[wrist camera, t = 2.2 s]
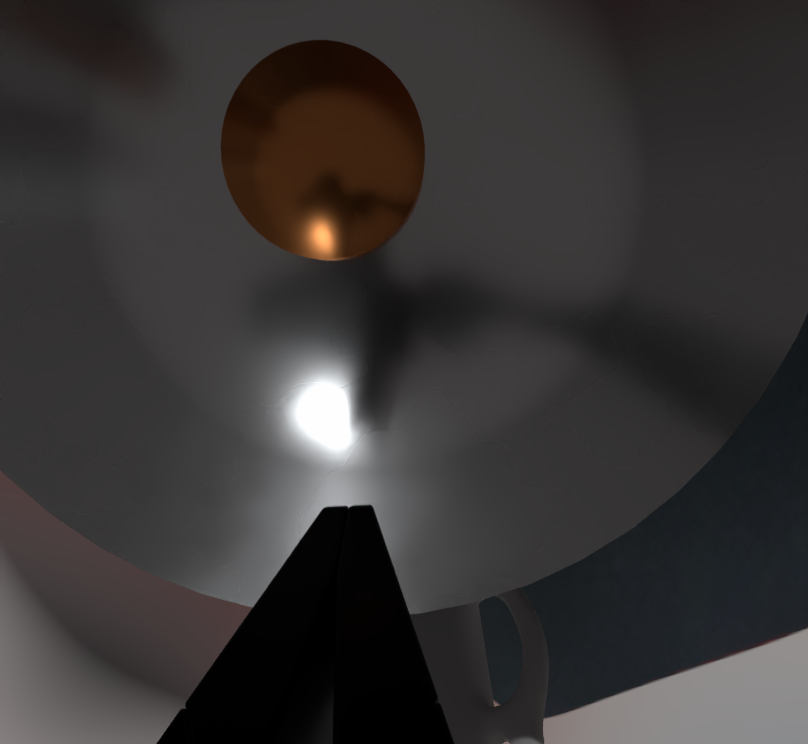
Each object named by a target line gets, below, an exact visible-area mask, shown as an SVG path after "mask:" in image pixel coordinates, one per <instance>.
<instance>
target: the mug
mask: <svg viewBox="0 0 808 744" xmlns="http://www.w3.org/2000/svg"><path fill="white" fill-rule="evenodd" d="M496 596H497V597H499V598H501V599H502V600H503V601H504V602H505V603H506V605H507V606H508V608H509V609H510V611H511V613H512V615H513V617H514V619H515V622H516V624H517V627H518V630H519V633H520V637H521V641H522V648H523V663H522V670H521V676H520V679H519V682H518V685H517V687H516V689H515V692H514V693H513V695H512V696H511V697H510V699H509V700H508V701H507V702H505V703H504V704H502V705H500V706H496V707H494V703H493V696H492V690H491V684H490V677H489V671H488V665H487V658H486V652H485V645H484V639H483V633H482V626H481V619H480V613H479V606H478V604H479V603H480V602H481V601H482V600H481V601H478V602H474V603H469V604H464V605H459V606H454V607H449V608H445V609H440V610H435V611H430V612H425V613H419V614H410V616H411V619H412V622H413V625H414V628H415V631H416V634H417V637H418V640H419V643H420V646H421V648H422V651H423V654H424V657H425V660H426V663H427V666H428V669H429V672H430V675H431V678H432V681H433V684H434V687H435V689H436V692H437V695H438V703H440V704H441V706H442V709H443V712H444V715H445V718H446V721H447V724H448V727H449V730H450V733H451V736H452V738H453V741H454V744H502V743H504V742H506V741H509V743H510V744H544V737H543V719H544V711H545V704H546V697H547V688H548V670H549V664H548V651H547V644H546V640H545V635H544V632H543V629H542V626H541V623H540V621H539V618H538V616H537V614H536V612H535V610H534V608H533V606H532V604H531V603H530V601H529V600H528V598H527V597H526V596H525V594H524V593H523V591H522V590H521V588H517V589H514V590H511V591H508V592H505V593H502V594H499V595H496Z"/></svg>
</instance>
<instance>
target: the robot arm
mask: <svg viewBox="0 0 808 744" xmlns="http://www.w3.org/2000/svg"><path fill="white" fill-rule="evenodd" d="M185 707H186V709H184V708H183V709H181V710H180V711H179V713H178V714H177V715H176V717H175V718H174V720H173V721H172V722H171V724H170V725H169V727H168V728H167V730H166V731H165V732H164V734H163V735H162V737H161V738H160V740H159V741H158V742H157V744H454V741H453V738H452V736H451V733H450V730H449V727H448V724H447V721H446V718H445V715H444V712H443V709H442V706H441V704H440V703H438V695H437V692H436V689H435V687H434V684H433V681H432V678H431V675H430V672H429V669H428V666H427V663H426V660H425V657H424V654H423V651H422V648H421V646H420V643H419V640H418V637H417V634H416V631H415V628H414V625H413V622H412V619H411V616H410V613H409V610H408V607H407V604H406V602H405V599H404V596H403V593H402V590H401V587H400V584H399V581H398V578H397V575H396V572H395V569H394V566H393V563H392V561H391V558H390V555H389V552H388V549H387V546H386V543H385V540H384V537H383V534H382V531H381V528H380V525H379V522H378V520H377V517H376V514H375V511H374V508H373V506H372V505H370V504H359V505H351V506H349V508H348V506H346V505H333V506H326V507H324V508H323V509H322V510H321V511H320V513H319V514H318V516H317V517H316V519H315V520H314V521H313V523H312V524H311V526H310V527H309V529H308V530H307V531H306V533H305V534H304V536H303V537H302V538H301V540H300V541H299V543H298V544H297V546H296V547H295V548H294V550H293V551H292V553H291V554H290V555H289V557H288V558H287V560H286V561H285V563H284V564H283V565H282V567H281V568H280V570H279V571H278V572H277V574H276V575H275V577H274V578H273V580H272V581H271V582H270V584H269V585H268V587H267V588H266V590H265V591H264V592H263V594H262V595H261V597H260V598H259V599H258V601H257V602H256V604H255V605H254V607H253V608H252V609H251V611H250V612H249V614H248V615H247V617H246V618H245V619H244V621H243V622H242V624H241V625H240V626H239V628H238V629H237V631H236V632H235V634H234V635H233V636H232V638H231V639H230V641H229V642H228V644H227V645H226V646H225V648H224V649H223V651H222V652H221V653H220V655H219V656H218V658H217V659H216V660H215V662H214V663H213V665H212V666H211V668H210V669H209V671H208V672H207V673H206V675H205V676H204V677H203V679H202V680H201V682H200V683H199V685H198V686H197V687H196V689H195V690H194V692H193V693H192V694H191V696H190V697H189V699H188V700H187V702H186V704H185Z"/></svg>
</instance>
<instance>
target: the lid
mask: <svg viewBox="0 0 808 744" xmlns="http://www.w3.org/2000/svg"><path fill="white" fill-rule="evenodd" d="M807 313H808V0H0V470H1V471H2V472H3V473H4V474H5V475H6V476H7V477H8V478H10V479H11V480H12V481H13V482H14V483H15V484H17V485H18V486H19V487H20V488H21V489H22V490H24V491H25V492H26V493H27V494H28V495H29V496H31V497H32V498H33V499H34V500H35V501H36V502H38V503H39V504H40V505H41V506H42V507H43V508H45V509H46V510H47V511H48V512H49V513H50V514H52V515H53V516H55V517H56V518H58V519H59V520H61V521H62V522H64V523H65V524H66V525H68V526H70V527H71V528H73V529H74V530H75V531H77V532H78V533H80V534H81V535H83V536H84V537H86V538H87V539H89V540H90V541H91V542H93V543H94V544H96V545H97V546H99V547H101V548H103V549H104V550H106V551H108V552H110V553H112V554H114V555H116V556H118V557H120V558H122V559H123V560H125V561H127V562H129V563H131V564H133V565H135V566H137V567H139V568H140V569H142V570H144V571H146V572H148V573H150V574H153V575H155V576H158V577H160V578H163V579H165V580H168V581H170V582H173V583H175V584H178V585H181V586H183V587H186V588H188V589H191V590H193V591H196V592H199V593H201V594H204V595H208V596H212V597H216V598H219V599H223V600H227V601H231V602H234V603H238V604H242V605H246V606H249V607H254V605H255V604H256V602H257V601H258V599H259V598H260V597H261V595H262V594H263V592H264V591H265V590H266V588H267V587H268V585H269V584H270V582H271V581H272V580H273V578H274V577H275V575H276V574H277V572H278V571H279V570H280V568H281V567H282V565H283V564H284V563H285V561H286V560H287V558H288V557H289V555H290V554H291V553H292V551H293V550H294V548H295V547H296V546H297V544H298V543H299V541H300V540H301V538H302V537H303V536H304V534H305V533H306V531H307V530H308V529H309V527H310V526H311V524H312V523H313V521H314V520H315V519H316V517H317V516H318V514H319V513H320V511H321V510H322V509H323V508H324V507H326V506H333V505H346V506H348V508H349V506H351V505H359V504H370V505H372V506H373V508H374V511H375V514H376V517H377V520H378V522H379V525H380V528H381V531H382V534H383V537H384V540H385V543H386V546H387V549H388V552H389V555H390V558H391V561H392V563H393V566H394V569H395V572H396V575H397V578H398V581H399V584H400V587H401V590H402V593H403V596H404V599H405V602H406V604H407V607H408V610H409V613H410V614H419V613H425V612H430V611H435V610H440V609H445V608H449V607H454V606H459V605H464V604H469V603H474V602H478V601H481V600H484V599H487V598H490V597H493V596H496V595H499V594H502V593H505V592H508V591H511V590H514V589H517V588H520V587H523V586H526V585H529V584H531V583H533V582H535V581H538V580H540V579H542V578H544V577H546V576H548V575H550V574H552V573H555V572H557V571H559V570H561V569H563V568H565V567H567V566H569V565H572V564H574V563H576V562H578V561H580V560H582V559H584V558H585V557H587V556H589V555H590V554H592V553H593V552H595V551H597V550H598V549H600V548H601V547H603V546H605V545H606V544H608V543H609V542H611V541H613V540H614V539H616V538H617V537H619V536H621V535H622V534H624V533H625V532H627V531H629V530H630V529H632V528H633V527H634V526H636V525H637V524H638V523H639V522H641V521H642V520H643V519H644V518H646V517H647V516H648V515H649V514H651V513H652V512H653V511H654V510H656V509H657V508H658V507H659V506H661V505H662V504H663V503H664V502H666V501H667V500H668V499H669V498H671V497H672V496H673V495H674V494H676V493H677V492H678V491H679V490H680V489H681V488H682V487H683V486H684V485H685V484H686V483H687V482H688V481H689V480H690V479H691V478H692V477H693V476H694V475H695V474H696V473H697V472H698V471H699V470H700V469H701V468H702V467H703V466H704V465H705V464H706V463H707V462H708V461H709V460H710V459H711V458H712V457H713V456H714V455H715V454H716V453H717V452H718V451H719V450H720V449H721V447H722V446H723V445H724V444H725V443H726V441H727V440H728V439H729V438H730V436H731V435H732V434H733V432H734V431H735V430H736V428H737V427H738V426H739V425H740V423H741V422H742V421H743V419H744V418H745V417H746V416H747V414H748V413H749V412H750V410H751V409H752V408H753V406H754V405H755V404H756V403H757V401H758V400H759V399H760V397H761V396H762V395H763V393H764V391H765V390H766V388H767V386H768V385H769V383H770V381H771V380H772V378H773V376H774V375H775V373H776V371H777V370H778V368H779V366H780V365H781V363H782V361H783V360H784V358H785V356H786V355H787V353H788V351H789V350H790V348H791V346H792V344H793V343H794V341H795V339H796V338H797V335H798V333H799V331H800V329H801V326H802V324H803V322H804V320H805V318H806V315H807Z"/></svg>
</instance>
